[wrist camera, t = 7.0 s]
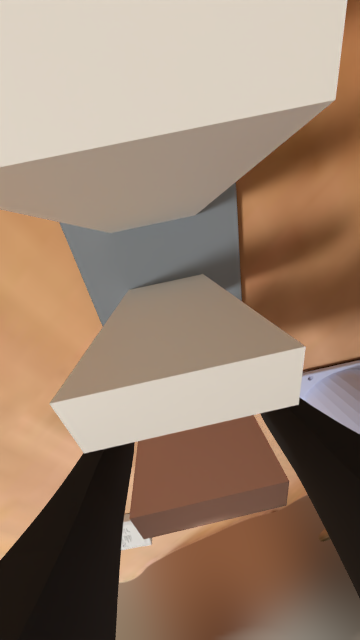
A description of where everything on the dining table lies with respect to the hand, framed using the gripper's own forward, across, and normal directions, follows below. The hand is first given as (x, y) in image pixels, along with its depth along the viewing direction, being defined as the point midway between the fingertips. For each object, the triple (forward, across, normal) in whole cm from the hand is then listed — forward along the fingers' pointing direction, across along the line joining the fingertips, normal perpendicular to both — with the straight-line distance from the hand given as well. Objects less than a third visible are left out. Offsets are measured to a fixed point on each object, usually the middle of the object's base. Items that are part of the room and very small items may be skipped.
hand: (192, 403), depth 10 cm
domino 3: (+5, 0, 0) cm, 5 cm away
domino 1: (+5, 0, -10) cm, 11 cm away
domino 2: (+5, 0, -5) cm, 7 cm away
